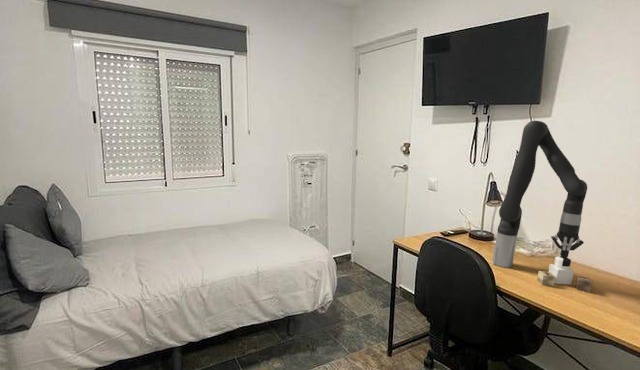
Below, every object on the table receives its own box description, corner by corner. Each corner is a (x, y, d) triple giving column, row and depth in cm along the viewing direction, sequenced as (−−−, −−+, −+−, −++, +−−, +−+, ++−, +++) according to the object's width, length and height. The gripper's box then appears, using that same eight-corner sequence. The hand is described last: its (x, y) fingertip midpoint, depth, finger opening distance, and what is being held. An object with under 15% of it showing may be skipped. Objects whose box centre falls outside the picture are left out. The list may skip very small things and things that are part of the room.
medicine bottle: (562, 278, 164) (566, 255, 162) (571, 285, 157) (576, 261, 155) (547, 277, 165) (551, 254, 163) (555, 283, 158) (559, 259, 156)
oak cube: (541, 285, 156) (543, 275, 155) (537, 280, 161) (538, 270, 160) (553, 286, 155) (555, 276, 154) (548, 281, 160) (550, 271, 159)
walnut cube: (576, 289, 153) (578, 279, 152) (575, 285, 157) (577, 275, 156) (589, 293, 150) (592, 282, 150) (589, 289, 154) (591, 278, 154)
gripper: (555, 222, 155) (549, 257, 158) (590, 226, 150) (583, 263, 153) (551, 218, 162) (545, 252, 165) (584, 222, 157) (577, 257, 160)
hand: (563, 257), depth 159 cm, fingers closed
